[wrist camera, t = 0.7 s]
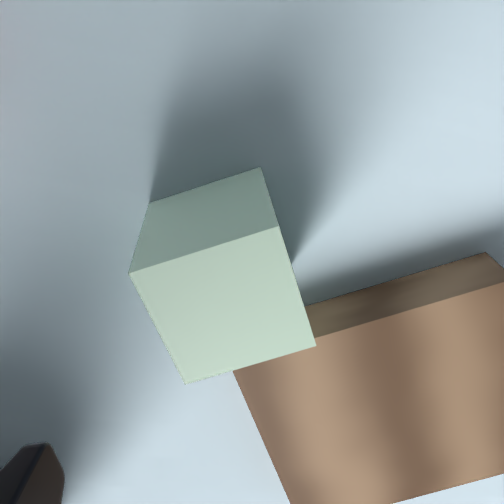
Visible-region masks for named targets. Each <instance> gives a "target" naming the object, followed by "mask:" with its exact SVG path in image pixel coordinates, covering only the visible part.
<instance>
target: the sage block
mask: <svg viewBox="0 0 504 504" xmlns="http://www.w3.org/2000/svg"><path fill="white" fill-rule="evenodd" d="M128 274H129V276H130V278H131V280H132V282H133V284H134V286H135V288H136V290H137V292H138V294H139V296H140V298H141V300H142V302H143V304H144V306H145V308H146V310H147V311H148V313H149V315H150V317H151V319H152V321H153V323H154V325H155V327H156V329H157V331H158V333H159V335H160V337H161V339H162V341H163V343H164V345H165V347H166V349H167V351H168V352H169V354H170V356H171V358H172V360H173V362H174V364H175V366H176V368H177V370H178V372H179V374H180V376H181V378H182V380H183V382H184V384H185V385H186V384H189V383H193V382H196V381H200V380H203V379H206V378H210V377H213V376H216V375H220V374H223V373H227V372H230V371H233V370H237V369H240V368H243V367H247V366H250V365H254V364H257V363H260V362H264V361H267V360H271V359H274V358H277V357H281V356H284V355H287V354H291V353H294V352H298V351H301V350H304V349H308V348H311V347H314V346H316V343H315V339H314V336H313V333H312V330H311V326H310V323H309V320H308V317H307V314H306V310H305V307H304V304H303V301H302V297H301V294H300V291H299V288H298V284H297V281H296V278H295V275H294V272H293V268H292V265H291V262H290V259H289V256H288V252H287V249H286V246H285V243H284V240H283V236H282V233H281V230H280V227H279V224H278V221H277V217H276V214H275V211H274V208H273V205H272V202H271V198H270V195H269V192H268V189H267V186H266V182H265V179H264V176H263V173H262V170H261V167H258V168H255V169H252V170H249V171H246V172H243V173H240V174H237V175H234V176H231V177H228V178H224V179H221V180H218V181H215V182H212V183H209V184H206V185H203V186H200V187H197V188H194V189H191V190H188V191H185V192H182V193H179V194H175V195H172V196H169V197H166V198H163V199H160V200H157V201H154V202H151V203H149V204H148V208H147V211H146V214H145V218H144V221H143V225H142V228H141V231H140V235H139V238H138V242H137V245H136V248H135V252H134V255H133V259H132V262H131V265H130V269H129V272H128Z"/></svg>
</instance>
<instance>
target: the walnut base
mask: <svg viewBox="0 0 504 504" xmlns="http://www.w3.org/2000/svg"><path fill="white" fill-rule="evenodd" d="M305 310H306V314H307V317H308V320H309V323H310V326H311V330H312V333H313V336H314V339H315V343H316V346H314V347H311V348H308V349H304V350H301V351H298V352H294V353H291V354H287V355H284V356H281V357H277V358H274V359H271V360H267V361H264V362H260V363H257V364H254V365H250V366H247V367H243V368H240V369H237V370H233V373H234V375H235V378H236V380H237V382H238V385H239V387H240V389H241V391H242V394H243V396H244V398H245V401H246V403H247V405H248V407H249V410H250V412H251V414H252V417H253V419H254V421H255V423H256V426H257V428H258V430H259V433H260V435H261V437H262V439H263V442H264V444H265V446H266V449H267V451H268V453H269V456H270V458H271V460H272V462H273V465H274V467H275V469H276V472H277V474H278V476H279V478H280V481H281V483H282V485H283V488H284V490H285V492H286V494H287V497H288V499H289V501H290V504H393V503H396V502H400V501H404V500H407V499H411V498H415V497H419V496H422V495H426V494H430V493H433V492H437V491H441V490H445V489H448V488H452V487H456V486H459V485H463V484H467V483H470V482H474V481H478V480H482V479H485V478H489V477H493V476H496V475H500V474H504V268H503V267H501V266H500V265H499V264H498V263H497V262H496V261H495V260H494V259H493V258H492V257H490V256H489V255H488V254H487V253H486V252H484V253H481V254H477V255H474V256H471V257H468V258H464V259H461V260H458V261H454V262H451V263H448V264H444V265H441V266H438V267H434V268H431V269H428V270H424V271H421V272H418V273H415V274H411V275H408V276H405V277H401V278H398V279H395V280H391V281H388V282H385V283H381V284H378V285H375V286H371V287H368V288H365V289H362V290H358V291H355V292H352V293H348V294H345V295H342V296H338V297H335V298H332V299H328V300H325V301H322V302H318V303H315V304H312V305H309V306H305Z"/></svg>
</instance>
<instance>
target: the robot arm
mask: <svg viewBox="0 0 504 504" xmlns="http://www.w3.org/2000/svg"><path fill="white" fill-rule="evenodd" d="M64 481H65V477H64V471H63V468H62V466H61V464H60V462H59V460H58V458H57V456H56V454H55V452H54V449H53V447H52V446H51V444H49V443H48V442H40V443H31V444H27V445H25V446H23V447H22V448H21V449H20V450H19V451H18V452H17V453H16V454H15V455H14V456H13V457H12V458H11V459H10V460H9V461H8V462H7V464H6V465H5V466H4V467H3V468H2V469H1V470H0V504H61V502H62V495H63V489H64Z"/></svg>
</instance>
